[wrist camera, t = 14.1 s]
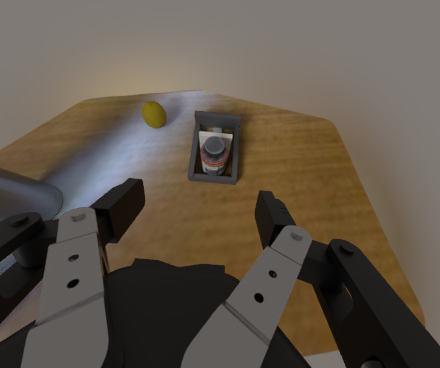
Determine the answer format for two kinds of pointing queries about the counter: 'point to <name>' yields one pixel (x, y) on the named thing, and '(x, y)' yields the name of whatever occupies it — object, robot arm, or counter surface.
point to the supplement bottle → (214, 156)
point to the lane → (201, 120)
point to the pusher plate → (217, 132)
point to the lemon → (154, 114)
